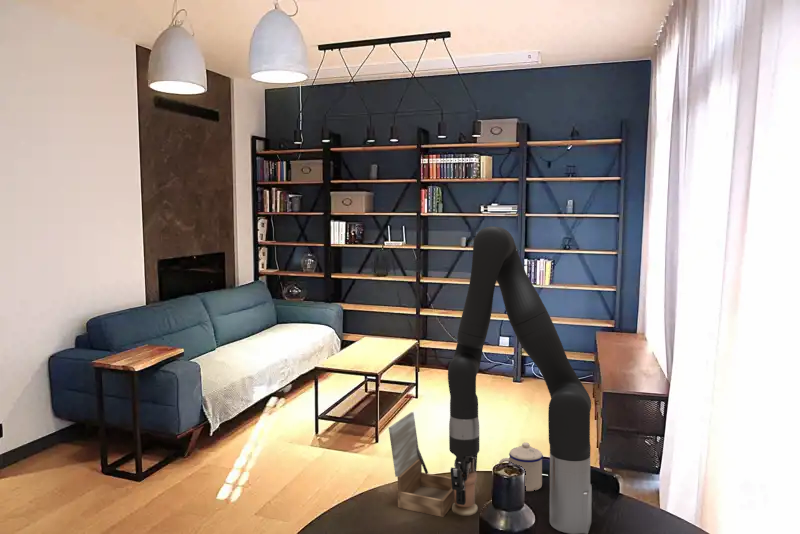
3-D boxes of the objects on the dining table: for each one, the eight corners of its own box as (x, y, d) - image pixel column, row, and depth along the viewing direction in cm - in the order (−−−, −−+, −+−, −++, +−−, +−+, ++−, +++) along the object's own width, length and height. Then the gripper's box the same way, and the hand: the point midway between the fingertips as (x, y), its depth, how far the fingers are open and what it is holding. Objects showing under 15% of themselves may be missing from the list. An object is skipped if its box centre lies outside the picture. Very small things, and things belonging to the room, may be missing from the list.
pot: (480, 499, 148) (479, 471, 148) (472, 509, 143) (472, 480, 142) (457, 494, 151) (456, 467, 151) (448, 504, 145) (448, 476, 145)
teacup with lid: (540, 478, 165) (540, 438, 164) (545, 492, 156) (545, 450, 155) (497, 477, 166) (497, 437, 165) (499, 491, 157) (499, 449, 156)
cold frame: (461, 494, 156) (461, 418, 154) (443, 517, 143) (442, 435, 142) (411, 484, 162) (410, 411, 161) (389, 505, 150) (388, 427, 148)
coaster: (480, 506, 148) (480, 503, 148) (472, 517, 143) (472, 514, 143) (457, 501, 151) (457, 498, 151) (448, 512, 145) (448, 509, 145)
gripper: (469, 444, 138) (469, 514, 139) (487, 426, 151) (487, 490, 152) (439, 440, 141) (440, 508, 142) (459, 422, 154) (460, 485, 155)
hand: (464, 498), depth 147 cm, fingers closed on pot, 5 cm apart
